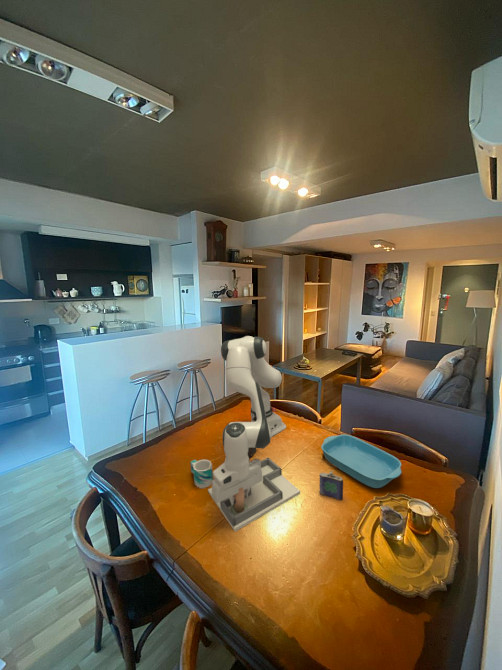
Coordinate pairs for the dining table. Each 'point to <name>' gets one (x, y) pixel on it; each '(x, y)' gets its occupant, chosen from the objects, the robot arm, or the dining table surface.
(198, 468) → the mug
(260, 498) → the channel
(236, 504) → the peg
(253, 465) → the robot arm
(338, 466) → the casserole dish
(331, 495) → the flask
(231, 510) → the pad
